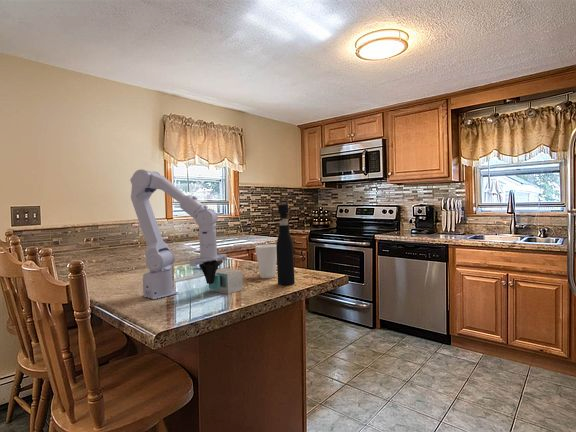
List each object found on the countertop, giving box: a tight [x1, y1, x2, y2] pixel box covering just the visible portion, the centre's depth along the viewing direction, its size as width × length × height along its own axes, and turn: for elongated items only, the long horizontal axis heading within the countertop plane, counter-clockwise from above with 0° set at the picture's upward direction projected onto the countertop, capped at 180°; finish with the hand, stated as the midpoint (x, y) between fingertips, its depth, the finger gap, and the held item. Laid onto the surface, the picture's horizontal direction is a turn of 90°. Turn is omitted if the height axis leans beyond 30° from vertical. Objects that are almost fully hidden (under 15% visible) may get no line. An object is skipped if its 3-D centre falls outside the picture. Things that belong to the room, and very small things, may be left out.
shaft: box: [208, 275, 222, 290], centre depth 124 cm, size 9×5×5 cm, turn 141°
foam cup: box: [254, 243, 277, 279], centre depth 145 cm, size 10×9×13 cm
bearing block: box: [209, 267, 244, 295], centre depth 125 cm, size 7×10×7 cm
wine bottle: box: [275, 204, 295, 287], centre depth 131 cm, size 6×6×30 cm
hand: (210, 283), depth 119 cm, fingers closed
